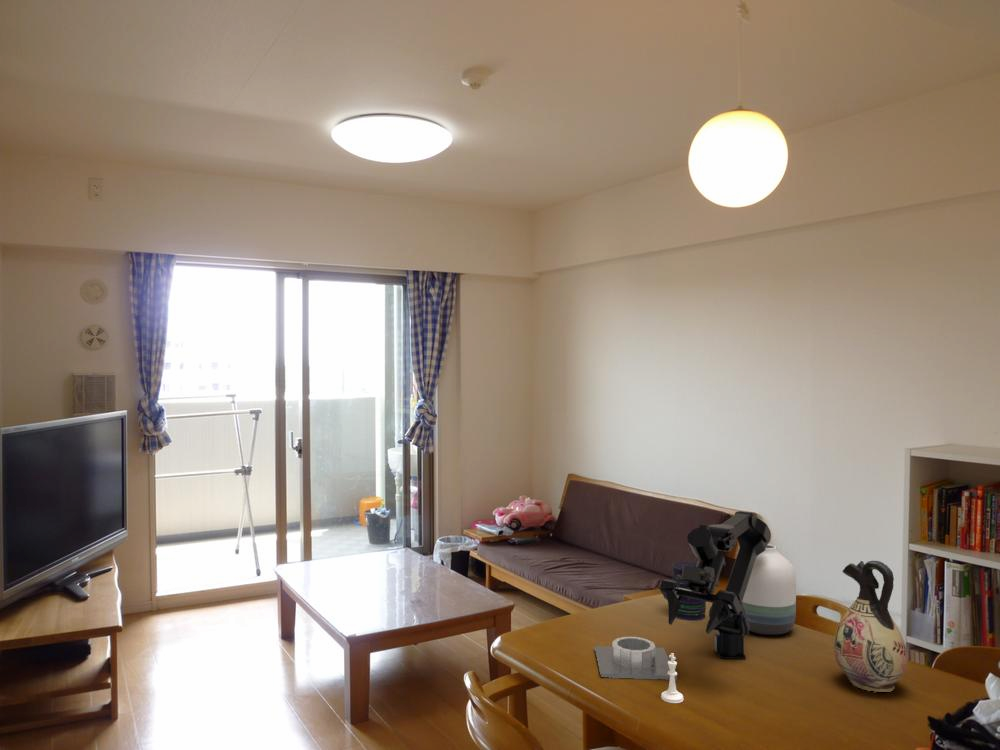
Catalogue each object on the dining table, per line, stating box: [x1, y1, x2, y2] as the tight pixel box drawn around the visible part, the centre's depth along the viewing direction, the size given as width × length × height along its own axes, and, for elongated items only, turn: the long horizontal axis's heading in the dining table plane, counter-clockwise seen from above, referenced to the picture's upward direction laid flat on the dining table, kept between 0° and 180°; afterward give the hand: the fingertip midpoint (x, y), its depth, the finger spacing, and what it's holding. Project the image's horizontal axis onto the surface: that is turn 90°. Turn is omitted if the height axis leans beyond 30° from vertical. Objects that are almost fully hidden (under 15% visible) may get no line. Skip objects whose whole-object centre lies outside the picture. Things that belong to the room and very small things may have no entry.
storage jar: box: [671, 561, 707, 622], centre depth 217 cm, size 10×10×15 cm
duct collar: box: [594, 636, 678, 681], centre depth 179 cm, size 18×18×5 cm
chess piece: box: [660, 652, 684, 704], centre depth 160 cm, size 5×5×10 cm
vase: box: [742, 543, 797, 636], centre depth 205 cm, size 17×17×24 cm
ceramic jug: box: [833, 560, 908, 693], centre depth 166 cm, size 17×15×30 cm
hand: (688, 628), depth 166 cm, fingers open, 9 cm apart
